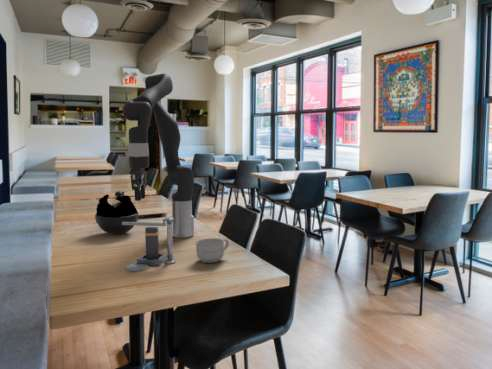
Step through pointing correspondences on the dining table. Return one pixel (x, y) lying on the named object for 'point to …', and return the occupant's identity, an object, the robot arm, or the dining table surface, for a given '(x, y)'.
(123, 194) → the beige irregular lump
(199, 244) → the teacup
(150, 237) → the plug
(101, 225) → the bowl of black rocks
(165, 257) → the socket
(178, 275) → the dining table surface
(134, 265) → the mat
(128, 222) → the gray square bar
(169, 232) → the post
